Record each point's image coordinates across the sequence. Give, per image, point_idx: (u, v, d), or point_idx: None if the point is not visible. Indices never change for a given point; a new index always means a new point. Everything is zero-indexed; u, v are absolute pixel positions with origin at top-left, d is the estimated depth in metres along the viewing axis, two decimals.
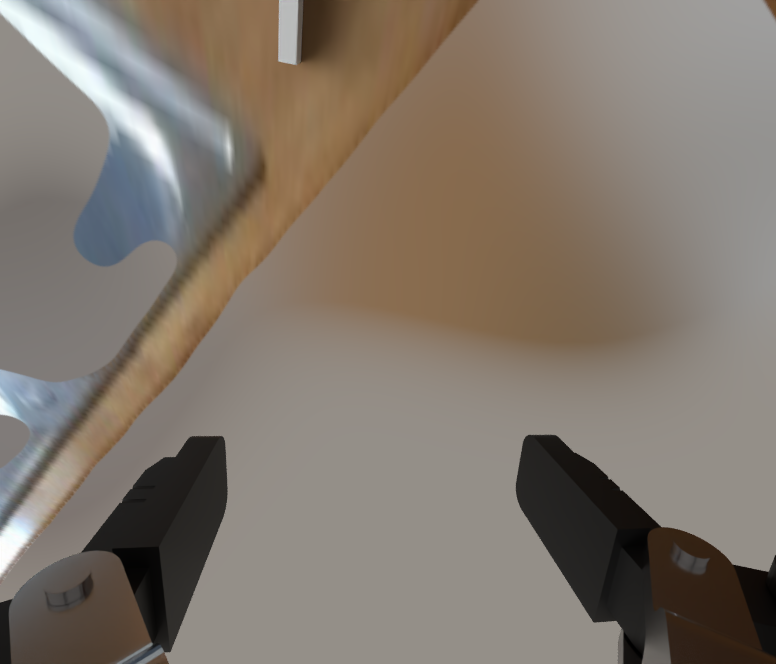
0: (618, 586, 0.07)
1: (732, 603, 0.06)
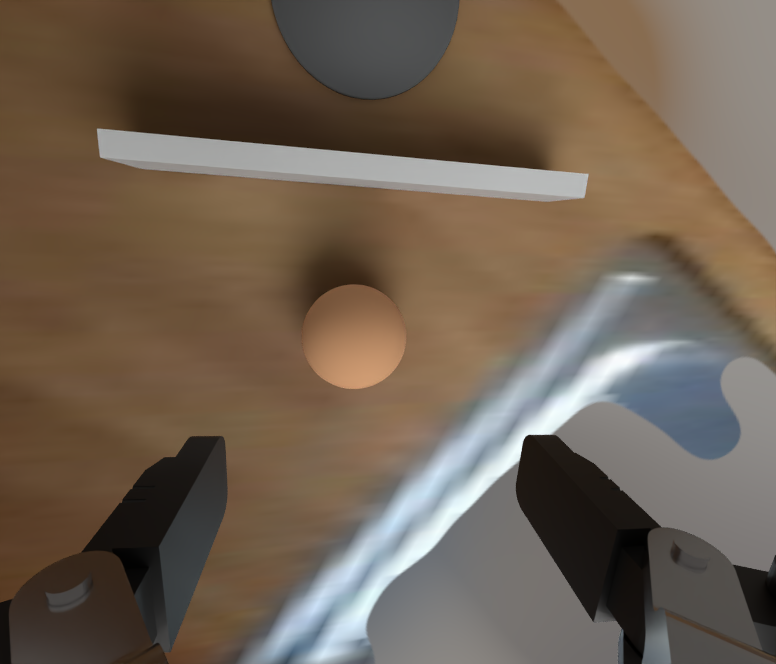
0: (618, 586, 0.07)
1: (732, 603, 0.06)
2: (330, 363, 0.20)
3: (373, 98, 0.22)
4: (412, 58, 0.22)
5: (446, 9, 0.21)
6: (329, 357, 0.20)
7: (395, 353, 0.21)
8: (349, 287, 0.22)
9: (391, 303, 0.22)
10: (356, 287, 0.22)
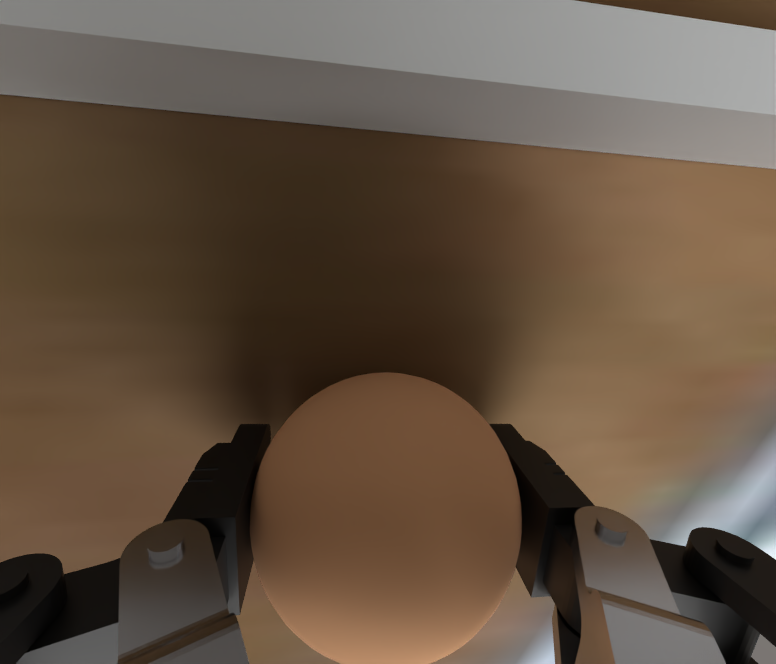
0: (551, 562, 0.08)
1: (639, 571, 0.06)
2: (324, 643, 0.07)
3: None
4: None
5: None
6: (320, 631, 0.07)
7: (508, 585, 0.08)
8: (377, 394, 0.08)
9: (488, 433, 0.08)
10: (396, 394, 0.08)
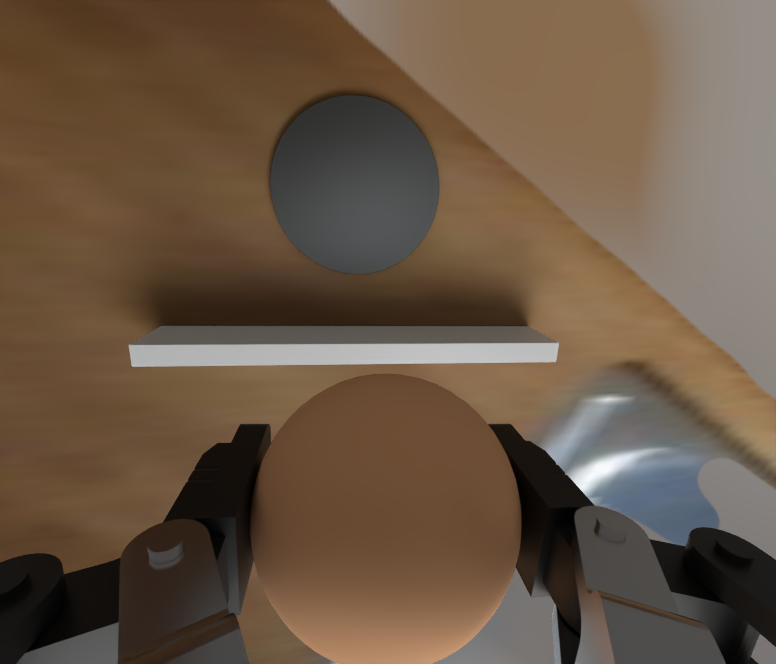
0: (551, 562, 0.08)
1: (639, 571, 0.06)
2: (324, 644, 0.07)
3: (365, 273, 0.25)
4: (399, 239, 0.24)
5: (427, 197, 0.24)
6: (321, 632, 0.07)
7: (507, 586, 0.08)
8: (376, 396, 0.08)
9: (487, 434, 0.08)
10: (395, 396, 0.08)
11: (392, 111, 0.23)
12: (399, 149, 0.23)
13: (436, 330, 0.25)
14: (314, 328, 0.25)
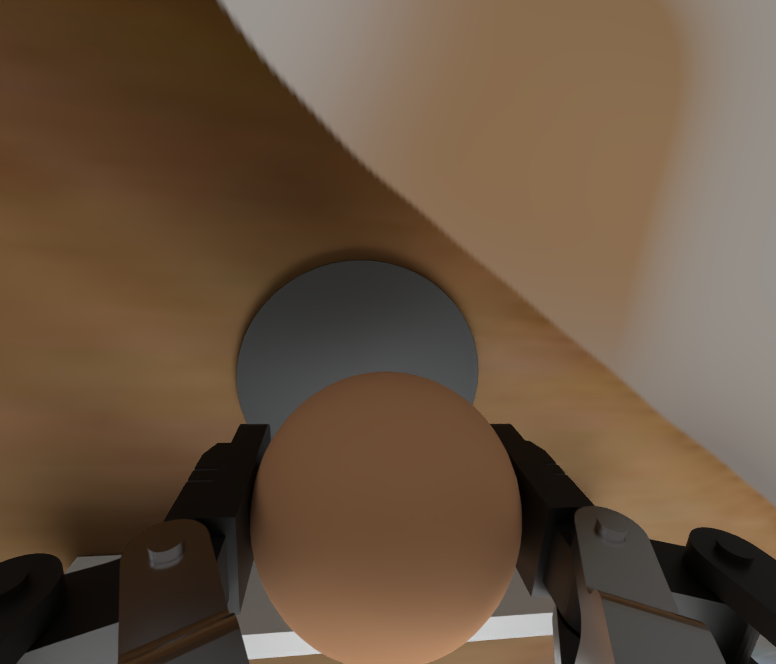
0: (551, 562, 0.08)
1: (639, 571, 0.06)
2: (324, 642, 0.07)
3: None
4: None
5: (461, 390, 0.17)
6: (321, 630, 0.07)
7: (508, 584, 0.08)
8: (377, 393, 0.08)
9: (488, 432, 0.08)
10: (396, 393, 0.08)
11: (417, 281, 0.16)
12: (425, 330, 0.16)
13: None
14: None
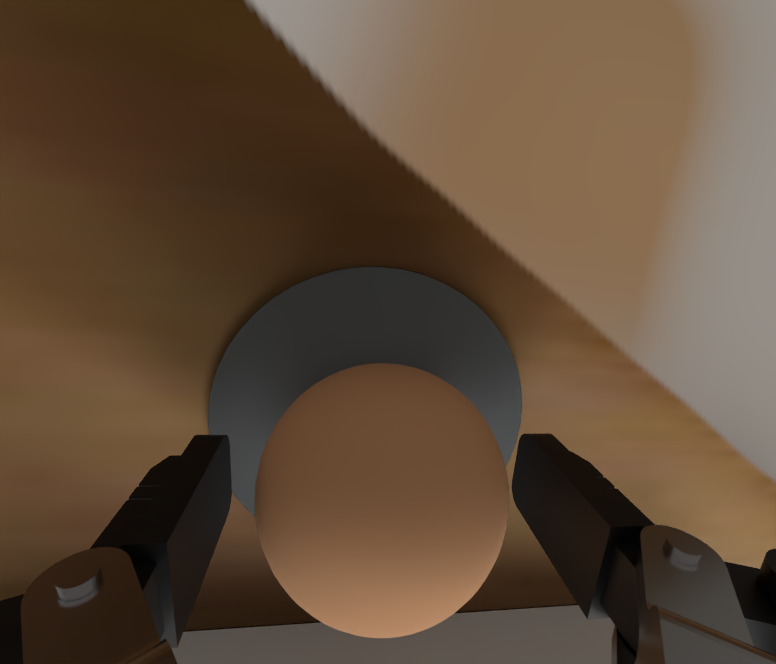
0: (611, 583, 0.07)
1: (722, 599, 0.06)
2: (324, 609, 0.07)
3: None
4: None
5: (499, 432, 0.13)
6: (321, 597, 0.07)
7: (495, 559, 0.08)
8: (373, 382, 0.08)
9: (477, 419, 0.09)
10: (391, 382, 0.08)
11: (446, 294, 0.12)
12: (455, 357, 0.12)
13: (501, 639, 0.15)
14: (288, 641, 0.14)
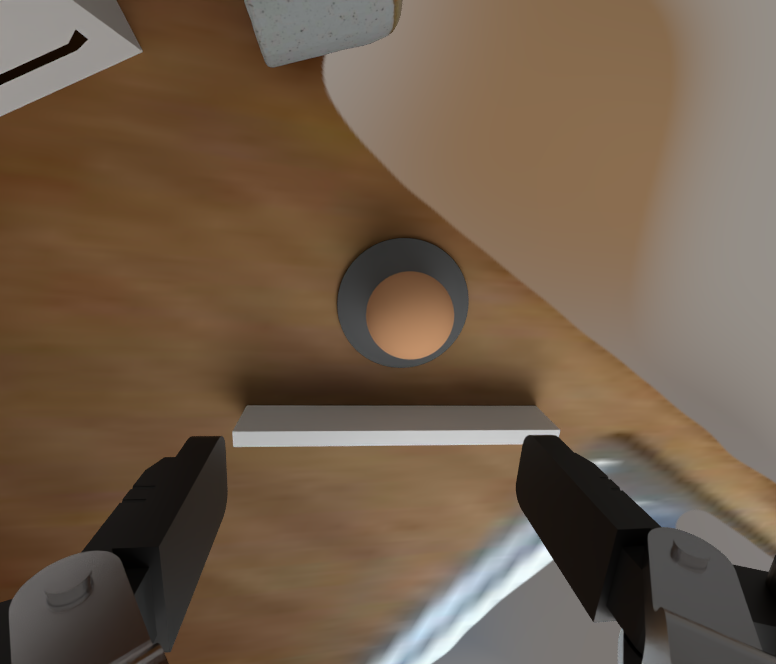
0: (618, 586, 0.07)
1: (732, 603, 0.06)
2: (394, 336, 0.25)
3: None
4: None
5: (458, 311, 0.30)
6: (393, 331, 0.24)
7: (447, 328, 0.25)
8: (407, 273, 0.26)
9: (442, 286, 0.26)
10: (413, 273, 0.26)
11: (434, 249, 0.29)
12: (438, 276, 0.29)
13: (462, 412, 0.32)
14: (365, 409, 0.32)
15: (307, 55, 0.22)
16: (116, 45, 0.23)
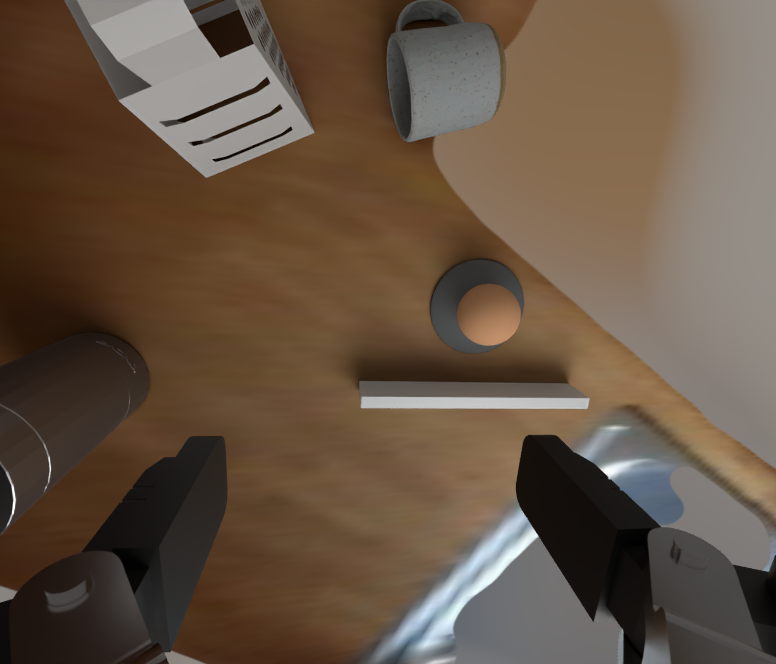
0: (618, 586, 0.07)
1: (732, 603, 0.06)
2: (483, 328, 0.36)
3: None
4: None
5: None
6: (483, 325, 0.36)
7: (517, 323, 0.37)
8: (489, 285, 0.37)
9: None
10: (494, 285, 0.37)
11: (501, 267, 0.40)
12: (503, 286, 0.41)
13: (516, 386, 0.43)
14: (446, 384, 0.43)
15: (434, 135, 0.33)
16: (304, 131, 0.34)
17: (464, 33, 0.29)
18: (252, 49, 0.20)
